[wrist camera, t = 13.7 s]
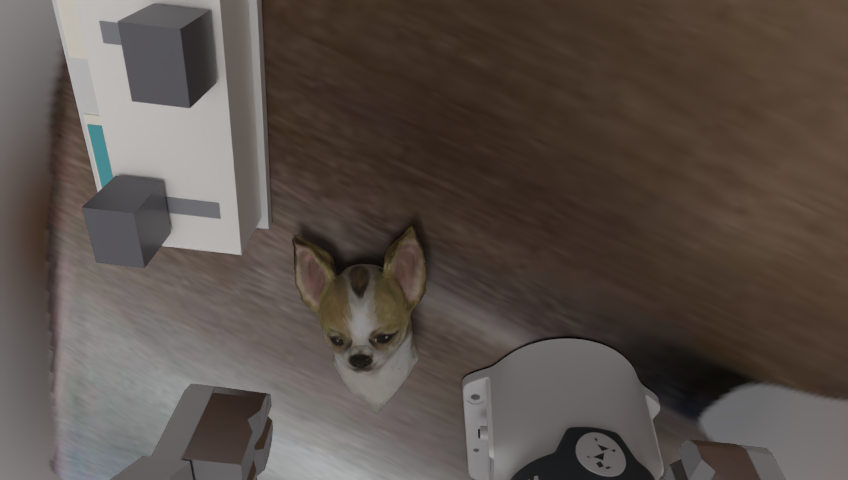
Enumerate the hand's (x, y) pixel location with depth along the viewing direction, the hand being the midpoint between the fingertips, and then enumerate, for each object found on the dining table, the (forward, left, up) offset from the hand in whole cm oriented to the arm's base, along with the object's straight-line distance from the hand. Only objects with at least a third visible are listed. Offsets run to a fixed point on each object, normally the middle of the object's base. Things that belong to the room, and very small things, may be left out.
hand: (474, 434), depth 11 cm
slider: (-12, +19, -25) cm, 34 cm away
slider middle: (-1, +15, -25) cm, 29 cm away
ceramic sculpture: (-22, +5, -32) cm, 39 cm away
